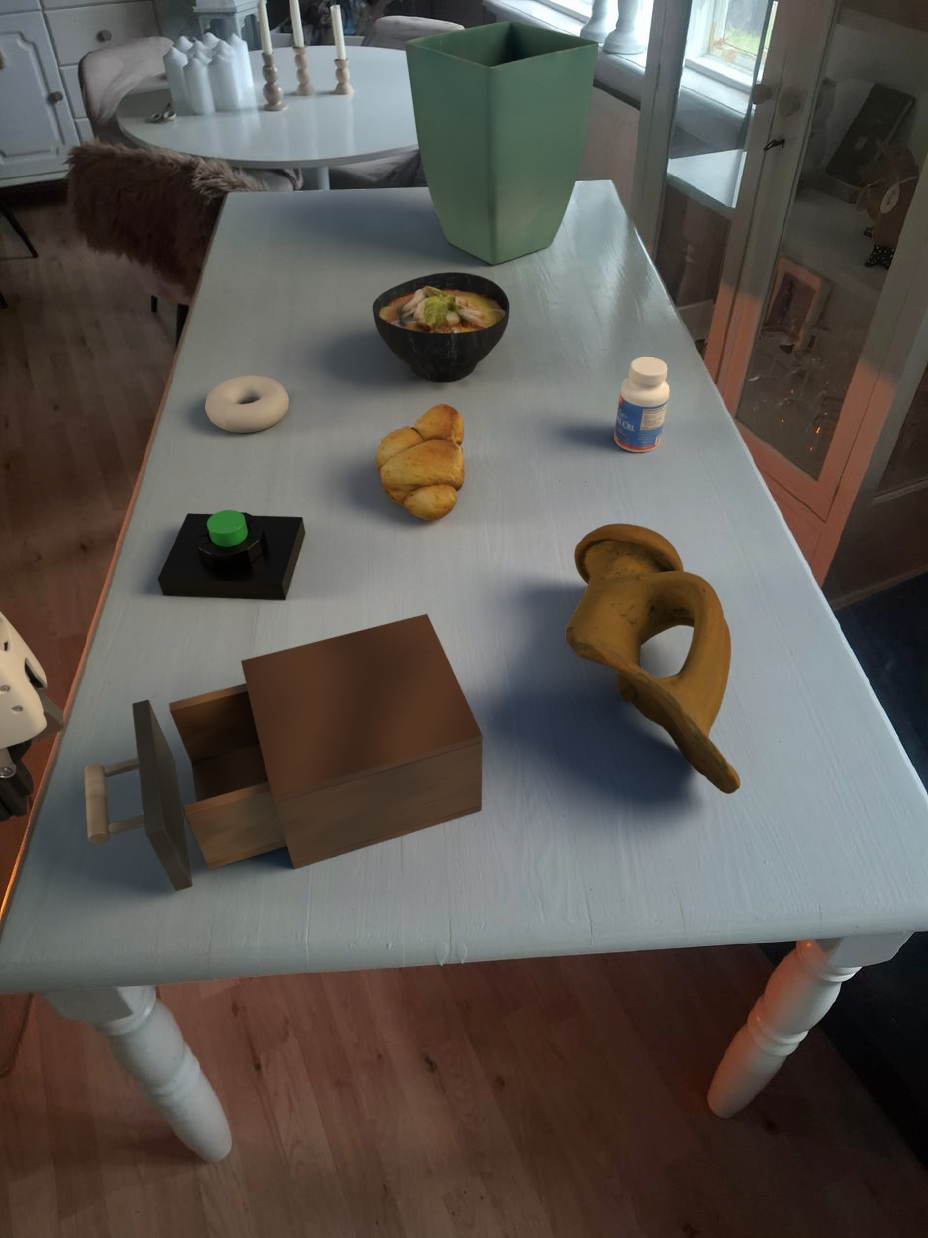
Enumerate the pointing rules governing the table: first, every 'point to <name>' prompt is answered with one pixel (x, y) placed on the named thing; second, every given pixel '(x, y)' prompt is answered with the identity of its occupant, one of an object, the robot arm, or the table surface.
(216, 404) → the donut
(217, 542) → the button
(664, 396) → the pill bottle
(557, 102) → the flower pot
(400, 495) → the bread roll
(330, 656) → the cabinet
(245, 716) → the drawer
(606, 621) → the brown looped sculpture
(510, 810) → the table surface
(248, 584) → the block
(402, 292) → the bowl
